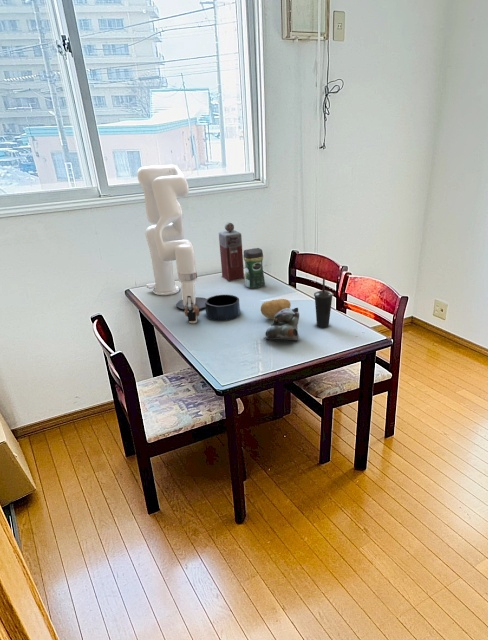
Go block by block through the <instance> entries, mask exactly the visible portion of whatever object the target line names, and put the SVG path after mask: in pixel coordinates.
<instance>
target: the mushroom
mask: <svg viewBox="0 0 488 640" xmlns="http://www.w3.org/2000/svg"><path fill="white" fill-rule="evenodd" d="M192 308H193V306H192ZM183 311H184V316H185V317H187V318H188V315H187V312H188V311H187V306H186V308H185V310H183ZM194 311H195V315H196V321H188V323H189V324H195V323H198V316H199V315H200V309H198V307H197V306H196V305H194Z"/></svg>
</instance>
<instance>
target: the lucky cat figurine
mask: <svg viewBox="0 0 488 640" xmlns="http://www.w3.org/2000/svg"><path fill="white" fill-rule="evenodd" d="M299 319H300V312H299V307H294V308H291V307H290V308H286V309H282V310H281V311H280V312H278V313H277V314H276V315H275V316H274V319H273V321H272V324H271V325H270V326H269V327H268V328H267V329H266V331H265V332H264V333H265V334H264V335H265V336H264V337H263V340H264V339H265V340H266V341H267V340H287V341H295V342H297V341H298V340H299V338H300V336H299V335H300V334H299V329H298V324H299Z"/></svg>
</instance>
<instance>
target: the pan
mask: <svg viewBox="0 0 488 640" xmlns="http://www.w3.org/2000/svg"><path fill="white" fill-rule="evenodd" d="M240 304H241V303H240V298H239V297H238V296H236V295H233V294H216V295H213V296H209V297H207V298H206V300H205V306H206V308H205V313H206V318H208V319H210V320H211V321H216V322H217V321H218V322H224V321H225V322H227V321H232V320H235V319H237V318H239V317H240V315H241V305H240Z"/></svg>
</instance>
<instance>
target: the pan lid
mask: <svg viewBox="0 0 488 640" xmlns="http://www.w3.org/2000/svg"><path fill="white" fill-rule="evenodd" d="M206 299H207V298H206V297H201V296H200V297H199V296H196V302H195V305H196V306H197V307H198V309H199V310H202V309H206V306H205V300H206ZM175 306H176V308H177V309H179V310H181V311H182V310H183V311H184V310H185V308H186V306H187V304H186V305H185V306H184V305H183V299H180V300H178V301H177V302H176V305H175Z"/></svg>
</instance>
